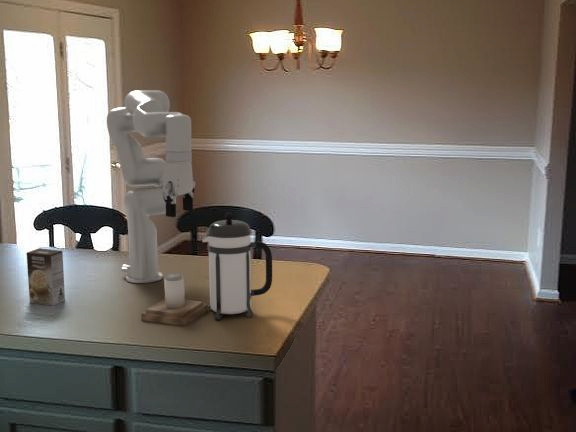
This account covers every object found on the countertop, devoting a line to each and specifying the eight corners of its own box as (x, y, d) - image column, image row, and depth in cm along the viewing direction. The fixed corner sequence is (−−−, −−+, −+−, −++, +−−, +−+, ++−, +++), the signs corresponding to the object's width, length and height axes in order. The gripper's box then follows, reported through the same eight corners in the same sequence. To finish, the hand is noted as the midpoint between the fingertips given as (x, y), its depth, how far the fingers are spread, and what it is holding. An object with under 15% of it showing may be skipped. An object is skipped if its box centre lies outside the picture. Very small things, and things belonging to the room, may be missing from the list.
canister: (161, 307, 200) (160, 277, 198) (172, 301, 205) (170, 272, 203) (178, 309, 198) (177, 279, 196) (188, 303, 203) (187, 274, 201)
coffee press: (238, 325, 193) (237, 219, 187) (194, 315, 201) (191, 214, 196) (273, 309, 207) (273, 210, 202) (231, 300, 216) (229, 205, 210)
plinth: (141, 320, 198) (140, 310, 197) (166, 305, 211) (166, 296, 210) (184, 325, 193) (184, 315, 192) (207, 310, 206) (207, 301, 205)
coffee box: (28, 303, 214) (24, 252, 211) (42, 297, 220) (38, 247, 217) (53, 306, 211) (49, 254, 208) (66, 300, 217) (63, 250, 214)
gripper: (182, 152, 214) (183, 207, 218) (151, 159, 198) (152, 217, 202) (204, 154, 211) (204, 209, 215) (174, 161, 196) (175, 220, 199)
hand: (179, 213), depth 209 cm, fingers open, 9 cm apart
